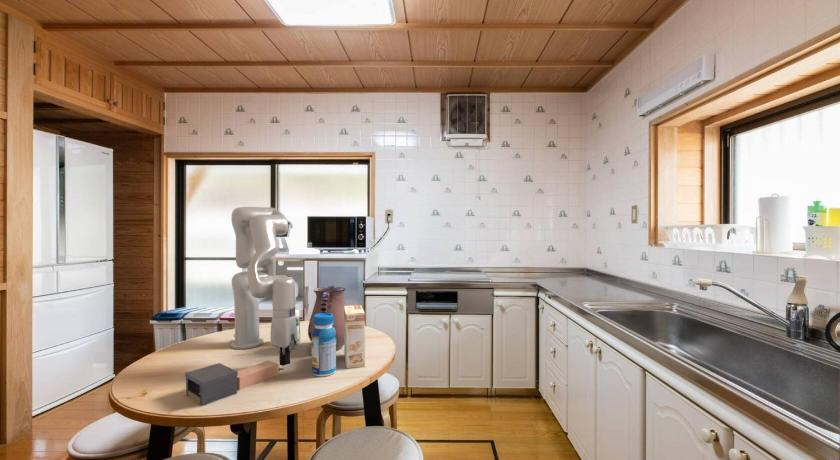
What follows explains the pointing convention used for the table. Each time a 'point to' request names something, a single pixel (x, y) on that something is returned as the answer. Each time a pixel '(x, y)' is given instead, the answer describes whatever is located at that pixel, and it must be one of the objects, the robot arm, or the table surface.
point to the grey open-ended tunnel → (211, 383)
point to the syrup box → (297, 324)
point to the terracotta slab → (256, 374)
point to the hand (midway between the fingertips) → (284, 364)
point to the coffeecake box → (354, 336)
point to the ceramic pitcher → (330, 310)
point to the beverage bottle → (323, 345)
